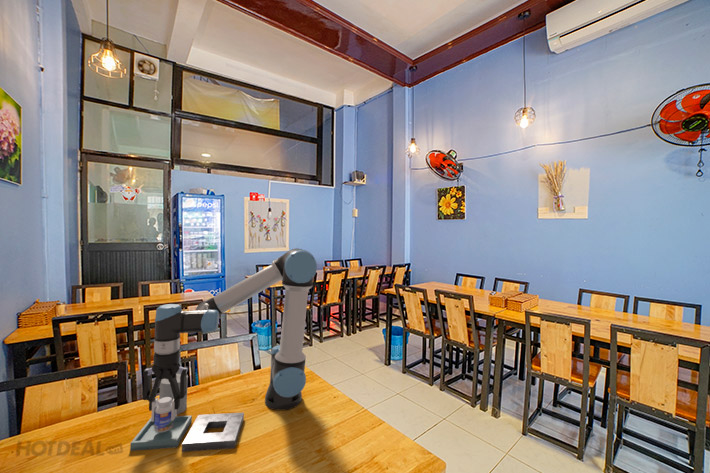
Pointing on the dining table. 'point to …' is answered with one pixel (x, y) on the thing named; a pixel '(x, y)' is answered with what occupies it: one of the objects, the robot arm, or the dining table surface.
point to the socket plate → (211, 441)
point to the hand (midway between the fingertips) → (164, 418)
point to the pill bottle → (163, 415)
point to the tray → (161, 435)
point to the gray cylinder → (167, 392)
